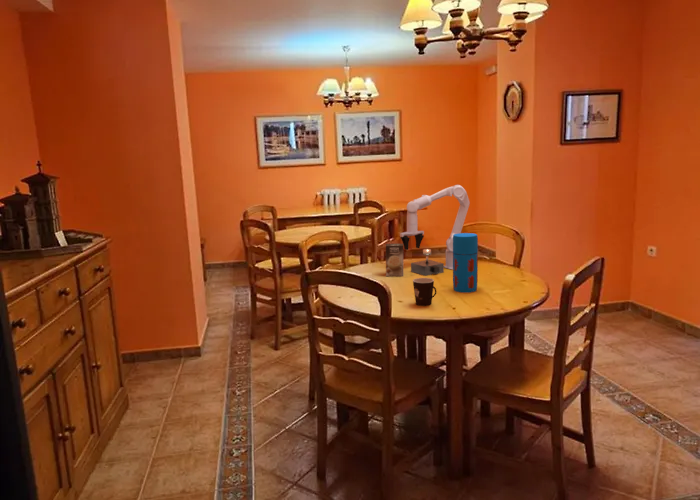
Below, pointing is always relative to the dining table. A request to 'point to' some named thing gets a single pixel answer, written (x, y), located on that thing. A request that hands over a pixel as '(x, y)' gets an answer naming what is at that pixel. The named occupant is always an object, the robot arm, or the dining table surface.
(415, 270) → the grey flat box
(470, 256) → the thermos
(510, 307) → the dining table surface
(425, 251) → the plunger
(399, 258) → the coffee box
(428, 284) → the coffee mug
